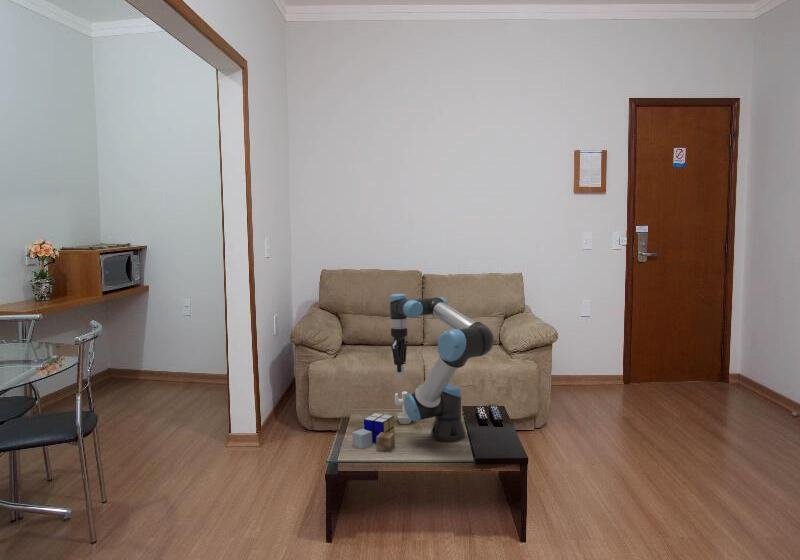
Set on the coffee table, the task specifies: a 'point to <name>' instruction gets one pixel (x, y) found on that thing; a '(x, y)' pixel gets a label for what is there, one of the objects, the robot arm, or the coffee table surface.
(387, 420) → the puzzle cube
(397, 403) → the figurine
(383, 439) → the walnut block
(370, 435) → the blue-grey block
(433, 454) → the coffee table surface
